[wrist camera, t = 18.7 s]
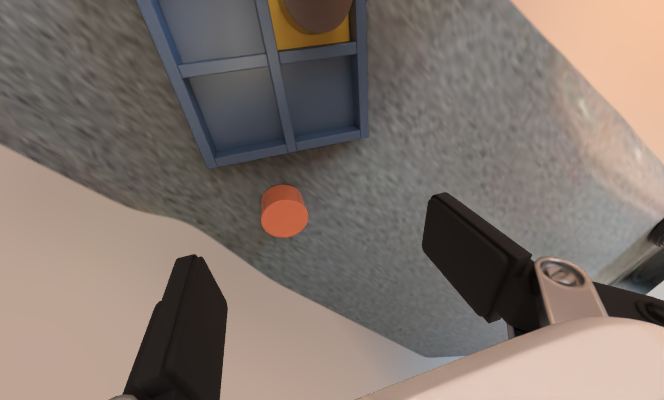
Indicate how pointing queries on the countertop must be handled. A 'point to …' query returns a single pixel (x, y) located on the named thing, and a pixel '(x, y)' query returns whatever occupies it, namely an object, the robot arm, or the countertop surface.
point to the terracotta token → (283, 211)
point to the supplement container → (658, 235)
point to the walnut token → (315, 14)
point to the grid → (261, 76)
